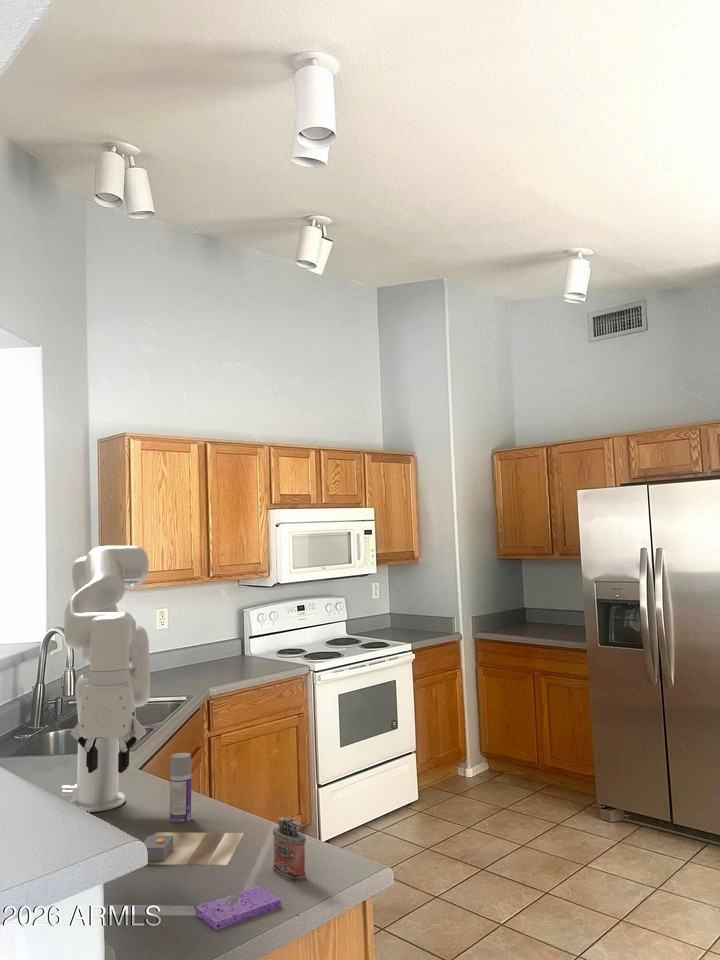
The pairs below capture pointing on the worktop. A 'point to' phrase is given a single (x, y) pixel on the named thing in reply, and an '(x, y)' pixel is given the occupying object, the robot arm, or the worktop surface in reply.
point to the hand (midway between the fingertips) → (107, 770)
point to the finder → (159, 847)
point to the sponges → (237, 907)
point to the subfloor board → (200, 848)
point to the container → (180, 788)
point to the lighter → (289, 850)
